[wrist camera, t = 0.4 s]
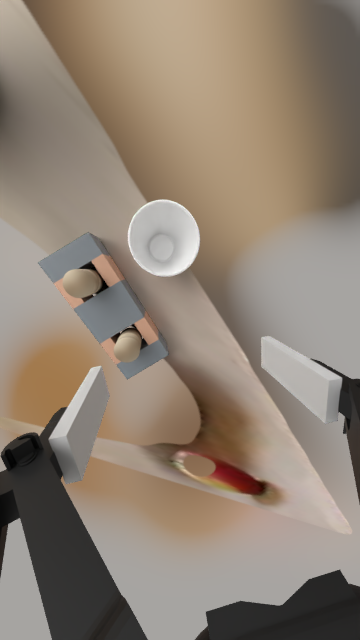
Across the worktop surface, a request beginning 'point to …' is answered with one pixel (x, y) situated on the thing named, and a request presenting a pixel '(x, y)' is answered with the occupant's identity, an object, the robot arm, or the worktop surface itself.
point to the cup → (163, 238)
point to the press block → (106, 302)
